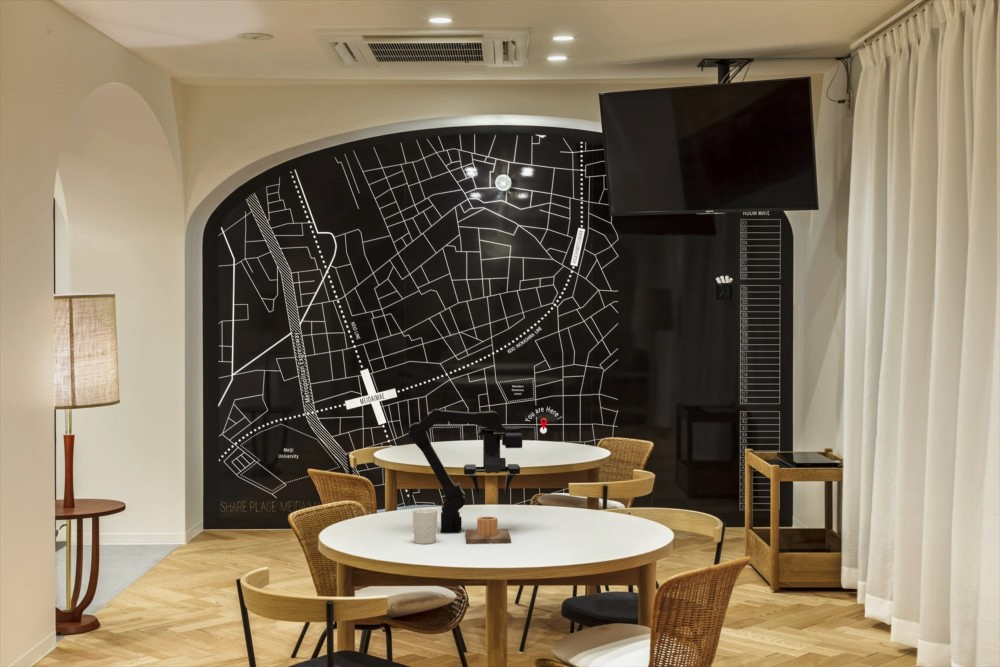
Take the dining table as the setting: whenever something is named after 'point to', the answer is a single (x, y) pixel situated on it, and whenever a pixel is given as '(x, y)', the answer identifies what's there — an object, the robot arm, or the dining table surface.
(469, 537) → the brown piece
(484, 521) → the orange short hollow cylinder
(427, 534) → the white cup
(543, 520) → the dining table surface
